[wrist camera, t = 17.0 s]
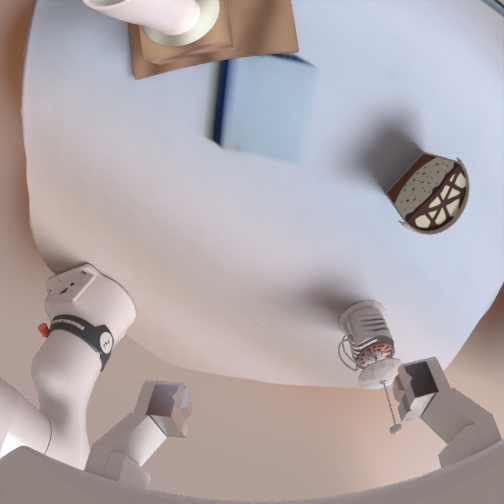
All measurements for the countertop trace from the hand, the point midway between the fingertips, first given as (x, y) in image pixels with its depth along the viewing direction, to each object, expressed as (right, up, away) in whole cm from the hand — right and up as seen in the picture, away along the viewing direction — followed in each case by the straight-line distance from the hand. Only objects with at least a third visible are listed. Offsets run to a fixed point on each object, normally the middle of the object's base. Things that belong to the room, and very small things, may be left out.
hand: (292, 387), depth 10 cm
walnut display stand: (-7, +37, +19) cm, 42 cm away
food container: (+24, +15, +30) cm, 41 cm away
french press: (+19, -8, +43) cm, 48 cm away
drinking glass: (-10, +31, +14) cm, 35 cm away
